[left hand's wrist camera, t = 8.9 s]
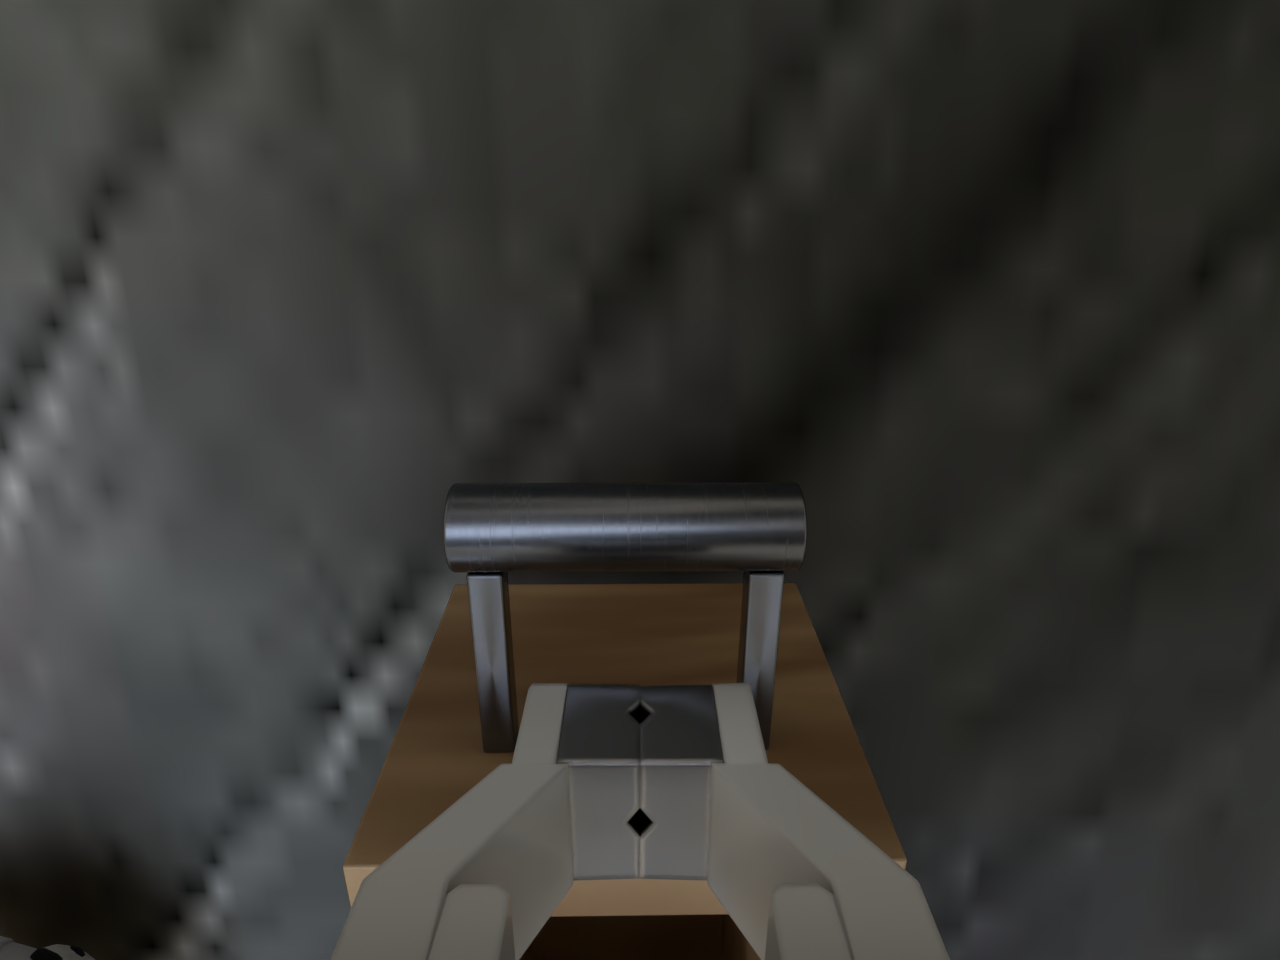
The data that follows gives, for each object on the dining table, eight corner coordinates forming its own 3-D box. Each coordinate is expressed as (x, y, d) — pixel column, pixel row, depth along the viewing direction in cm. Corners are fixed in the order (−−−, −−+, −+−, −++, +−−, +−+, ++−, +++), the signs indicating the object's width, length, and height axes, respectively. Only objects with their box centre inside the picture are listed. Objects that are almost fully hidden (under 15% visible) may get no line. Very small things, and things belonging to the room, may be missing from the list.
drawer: (434, 387, 18) (280, 571, 10) (815, 386, 18) (965, 568, 10) (499, 1016, 26) (445, 1380, 18) (754, 1012, 27) (808, 1372, 19)
